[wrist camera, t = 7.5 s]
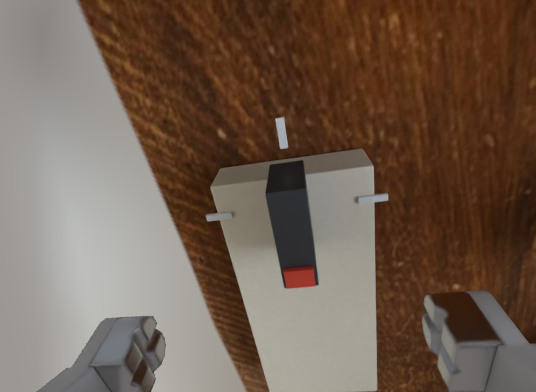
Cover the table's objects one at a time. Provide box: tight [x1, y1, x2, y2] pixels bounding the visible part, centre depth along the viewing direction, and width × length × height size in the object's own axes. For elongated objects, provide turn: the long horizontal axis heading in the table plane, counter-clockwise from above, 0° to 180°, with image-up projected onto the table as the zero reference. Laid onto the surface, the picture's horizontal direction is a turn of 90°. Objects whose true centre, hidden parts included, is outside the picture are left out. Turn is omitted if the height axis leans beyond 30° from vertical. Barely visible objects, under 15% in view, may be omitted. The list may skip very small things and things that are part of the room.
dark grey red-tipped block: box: [265, 160, 319, 289], centre depth 14 cm, size 5×2×3 cm, turn 10°
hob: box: [206, 117, 388, 392], centre depth 19 cm, size 21×9×3 cm, turn 10°
